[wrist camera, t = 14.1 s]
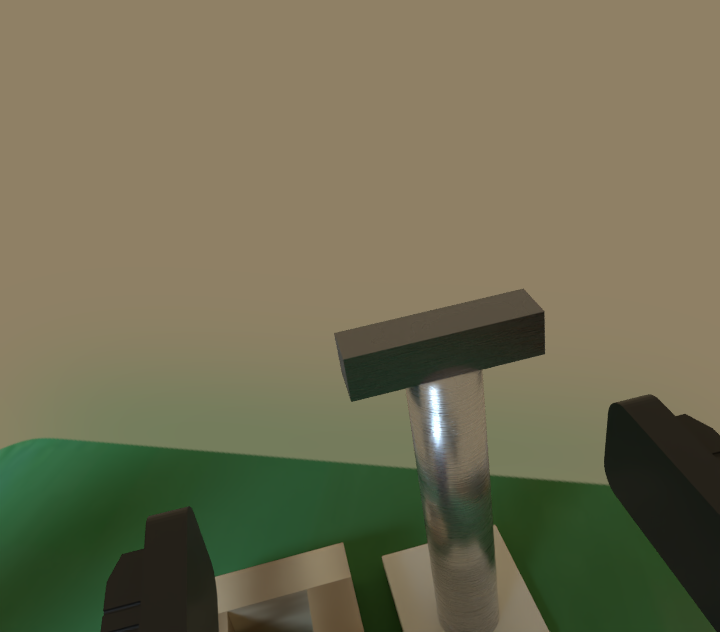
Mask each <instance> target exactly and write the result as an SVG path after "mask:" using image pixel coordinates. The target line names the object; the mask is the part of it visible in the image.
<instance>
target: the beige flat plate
mask: <svg viewBox="0 0 720 632" xmlns="http://www.w3.org/2000/svg"><path fill="white" fill-rule="evenodd" d="M493 530H494V545H495V559H496V573H497V587H498V602H499V622H498V624H497V627H496V628H495V630H494V631H493V632H549V630H548V628H547V626H546V624H545V622H544V620H543V618H542V616H541V614H540V612H539V610H538V608H537V606H536V604H535V602H534V600H533V598H532V596H531V594H530V592H529V590H528V588H527V586H526V584H525V582H524V580H523V578H522V576H521V574H520V572H519V570H518V568H517V566H516V564H515V562H514V561H513V559H512V557H511V555H510V553H509V551H508V549H507V547H506V545H505V543H504V541H503V539H502V537H501V535H500V533H499V531H498V529H497V527H496V525H493ZM382 560H383V565H384V570H385V573H386V576H387V580H388V583H389V587H390V590H391V593H392V597H393V600H394V604H395V607H396V610H397V614H398V617H399V621H400V624H401V627H402V631H403V632H445V631H444V629H443V628H442V627H441V625H440V623H439V619H438V613H437V606H436V599H435V592H434V585H433V578H432V571H431V564H430V557H429V550H428V544H424V545H421V546H417V547H413V548H410V549H406V550H402V551H399V552H395V553H391V554H388V555H384V556H382Z"/></svg>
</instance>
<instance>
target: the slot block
mask: <svg viewBox="0 0 720 632" xmlns="http://www.w3.org/2000/svg"><path fill="white" fill-rule="evenodd" d="M215 581H216V588H217V599H218V622H219V632H364V629H363V624H362V620H361V616H360V612H359V608H358V603H357V599H356V595H355V591H354V587H353V582H352V578H351V574H350V570H349V566H348V561H347V557H346V553H345V549H344V545H343V542H342V543H339V544H335V545H331V546H328V547H324V548H320V549H316V550H313V551H309V552H305V553H302V554H298V555H294V556H291V557H287V558H283V559H280V560H276V561H272V562H268V563H265V564H261V565H257V566H254V567H250V568H246V569H243V570H239V571H235V572H232V573H228V574H224V575H220V576H217V577H215Z"/></svg>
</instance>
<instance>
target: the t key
mask: <svg viewBox="0 0 720 632" xmlns="http://www.w3.org/2000/svg"><path fill="white" fill-rule="evenodd" d="M544 324H545V320H544V311H543V310H542V308H541V307H540V306H539V305H538V304H537V303H536V302H535V301H534V300H533V299H532V298H531V296H530V295H529V294H528V293H527V292H526V291H525V290H524V289H520V290H516V291H512V292H508V293H503V294H499V295H495V296H491V297H486V298H482V299H478V300H474V301H469V302H465V303H461V304H457V305H452V306H448V307H444V308H440V309H435V310H431V311H427V312H422V313H418V314H414V315H410V316H406V317H401V318H397V319H393V320H389V321H385V322H380V323H376V324H372V325H368V326H363V327H359V328H355V329H350V330H346V331H342V332H338V333H334V335H335V340H336V345H337V350H338V355H339V360H340V366H341V371H342V375H343V378H344V381H345V384H346V387H347V390H348V393H349V396H350V399H351V401H352V402H353V401H357V400H361V399H365V398H369V397H373V396H377V395H381V394H385V393H389V392H393V391H397V390H401V389H405V388H406V394H407V401H408V408H409V415H410V423H411V429H412V436H413V444H414V451H415V458H416V465H417V472H418V479H419V486H420V493H421V500H422V507H423V514H424V521H425V529H426V536H427V543H428V550H429V557H430V564H431V571H432V578H433V585H434V592H435V599H436V606H437V613H438V619H439V623H440V625H441V627H442V628H443V629H444V631H445V632H493V631H494V630H495V628H496V627H497V624H498V622H499V602H498V587H497V573H496V559H495V545H494V530H493V516H492V502H491V488H490V474H489V459H488V445H487V431H486V417H485V403H484V388H483V375H482V370H483V369H487V368H491V367H495V366H498V365H503V364H507V363H511V362H515V361H519V360H523V359H527V358H531V357H535V356H539V355H543V354H545V325H544Z"/></svg>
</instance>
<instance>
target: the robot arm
mask: <svg viewBox="0 0 720 632" xmlns="http://www.w3.org/2000/svg"><path fill="white" fill-rule="evenodd" d="M604 467H605V472H606V476H607V479H608V482H609V485H610V487H611V489H612V491H613V492H614V494H615V495H616V497H617V498H618V499H619V501H620V502H621V503H622V505H623V506H624V507H625V509H626V510H627V511H628V513H629V514H630V515H631V517H632V518H633V520H634V521H635V522H636V524H637V525H638V526H639V528H640V529H641V530H642V532H643V533H644V534H645V536H646V537H647V538H648V540H649V541H650V542H651V544H652V545H653V546H654V548H655V549H656V551H657V552H658V553H659V555H660V556H661V557H662V559H663V560H664V561H665V563H666V564H667V565H668V567H669V568H670V569H671V571H672V572H673V573H674V575H675V576H676V577H677V579H678V580H679V582H680V583H681V584H682V586H683V587H684V588H685V590H686V591H687V592H688V594H689V595H690V596H691V598H692V599H693V600H694V602H695V603H696V604H697V606H698V607H699V608H700V610H701V611H702V613H703V614H704V615H705V617H706V618H707V619H708V621H709V622H710V623H711V625H712V626H713V627H714V629H715V630H716V631H717V632H720V435H719V434H718V433H717V432H716V431H715V430H713V428H711V427H709V426H707V425H705V424H703V423H701V422H699V421H697V420H696V419H693V418H692V417H690V416H688V415H686V414H683V415H679V416H675V415H673V413H672V412H671V411H670V410H669V409H668V408H667V407H666V406H665V405H664V404H663V403H662V402H661V401H660V400H659V399H658V398H657V397H655V396H653V395H644V396H640V397H637V398H632V399H629V400H625V401H620V402H616V403H613V404H611V405H610V407H609V411H608V421H607V433H606V445H605V457H604ZM103 611H104V616H103V617H102V625H101V632H219V622H218V599H217V588H216V581H215V575H214V571H213V567H212V563H211V560H210V557H209V554H208V551H207V549H206V546H205V543H204V540H203V537H202V535H201V532H200V529H199V526H198V523H197V521H196V518H195V515H194V512H193V510H192V508H191V507H190V506H189V507H185V508H180V509H176V510H172V511H168V512H164V513H160V514H156V515H152V516H149V517H148V518H147V521H146V531H145V545H144V549H141V550H137V551H133V552H129V553H125V554H122V555H121V557H120V559H119V561H118V563H117V564H116V566H115V568H114V570H113V572H112V574H111V575H110V577H109V579H108V581H107V585H106V593H105V601H104V609H103Z"/></svg>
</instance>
